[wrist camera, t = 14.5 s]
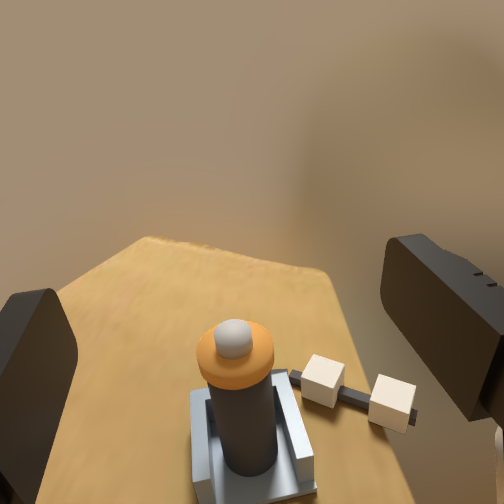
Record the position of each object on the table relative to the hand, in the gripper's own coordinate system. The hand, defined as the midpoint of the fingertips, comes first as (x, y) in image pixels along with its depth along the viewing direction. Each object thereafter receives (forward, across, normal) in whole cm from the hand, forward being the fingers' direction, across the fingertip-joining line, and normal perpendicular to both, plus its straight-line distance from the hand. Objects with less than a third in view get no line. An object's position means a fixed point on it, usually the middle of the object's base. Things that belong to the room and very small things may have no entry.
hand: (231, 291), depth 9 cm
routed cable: (+13, -7, +24) cm, 28 cm away
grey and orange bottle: (+10, -1, +23) cm, 25 cm away
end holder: (+10, -1, +24) cm, 26 cm away
